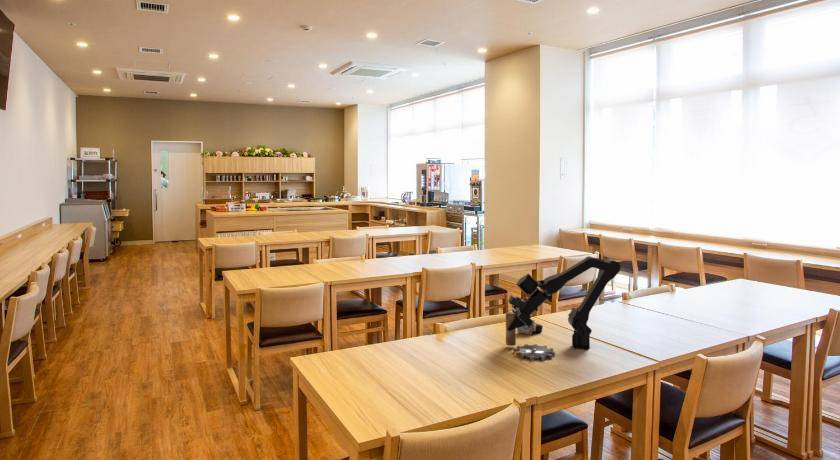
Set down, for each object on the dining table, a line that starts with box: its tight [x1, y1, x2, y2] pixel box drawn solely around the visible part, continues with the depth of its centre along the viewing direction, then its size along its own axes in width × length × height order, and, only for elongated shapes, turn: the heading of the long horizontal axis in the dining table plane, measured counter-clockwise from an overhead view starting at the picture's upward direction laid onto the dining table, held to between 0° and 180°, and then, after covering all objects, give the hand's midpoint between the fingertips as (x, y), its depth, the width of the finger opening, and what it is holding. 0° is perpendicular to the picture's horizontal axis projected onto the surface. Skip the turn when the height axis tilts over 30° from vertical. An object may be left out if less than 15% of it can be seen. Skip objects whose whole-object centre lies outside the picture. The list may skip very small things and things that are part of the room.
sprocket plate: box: [513, 343, 556, 362], centre depth 211 cm, size 16×16×2 cm
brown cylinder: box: [505, 311, 517, 347], centre depth 219 cm, size 4×4×13 cm
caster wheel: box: [516, 319, 544, 336], centre depth 241 cm, size 7×11×10 cm
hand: (507, 328), depth 219 cm, fingers closed on brown cylinder, 4 cm apart
